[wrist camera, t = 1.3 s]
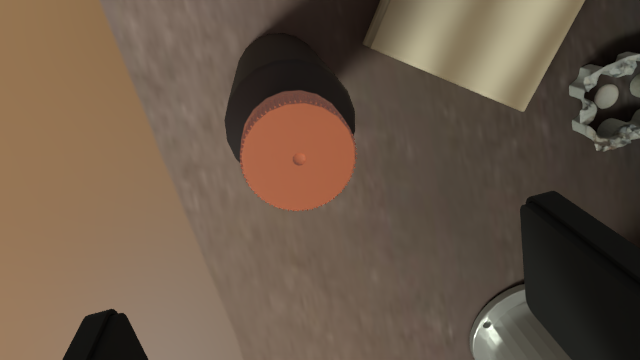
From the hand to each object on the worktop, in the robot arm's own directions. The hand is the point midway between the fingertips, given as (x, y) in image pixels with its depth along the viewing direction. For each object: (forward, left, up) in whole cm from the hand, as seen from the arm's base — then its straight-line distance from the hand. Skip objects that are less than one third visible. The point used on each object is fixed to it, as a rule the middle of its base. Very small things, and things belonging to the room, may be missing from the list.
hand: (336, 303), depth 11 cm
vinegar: (0, 0, -30) cm, 30 cm away
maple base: (-12, -12, -30) cm, 34 cm away
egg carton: (-29, -10, -30) cm, 43 cm away
